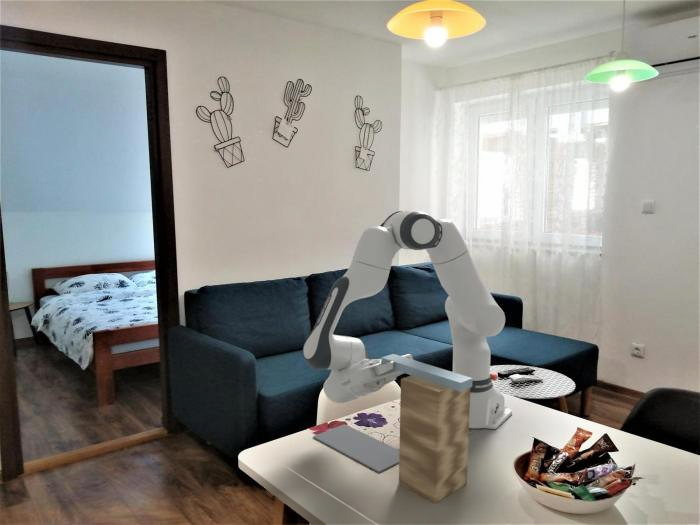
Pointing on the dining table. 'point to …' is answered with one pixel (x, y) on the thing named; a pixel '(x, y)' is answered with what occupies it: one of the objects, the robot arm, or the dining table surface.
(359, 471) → the dining table surface
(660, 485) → the dining table surface
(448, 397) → the oak stand
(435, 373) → the slat
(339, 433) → the mat
